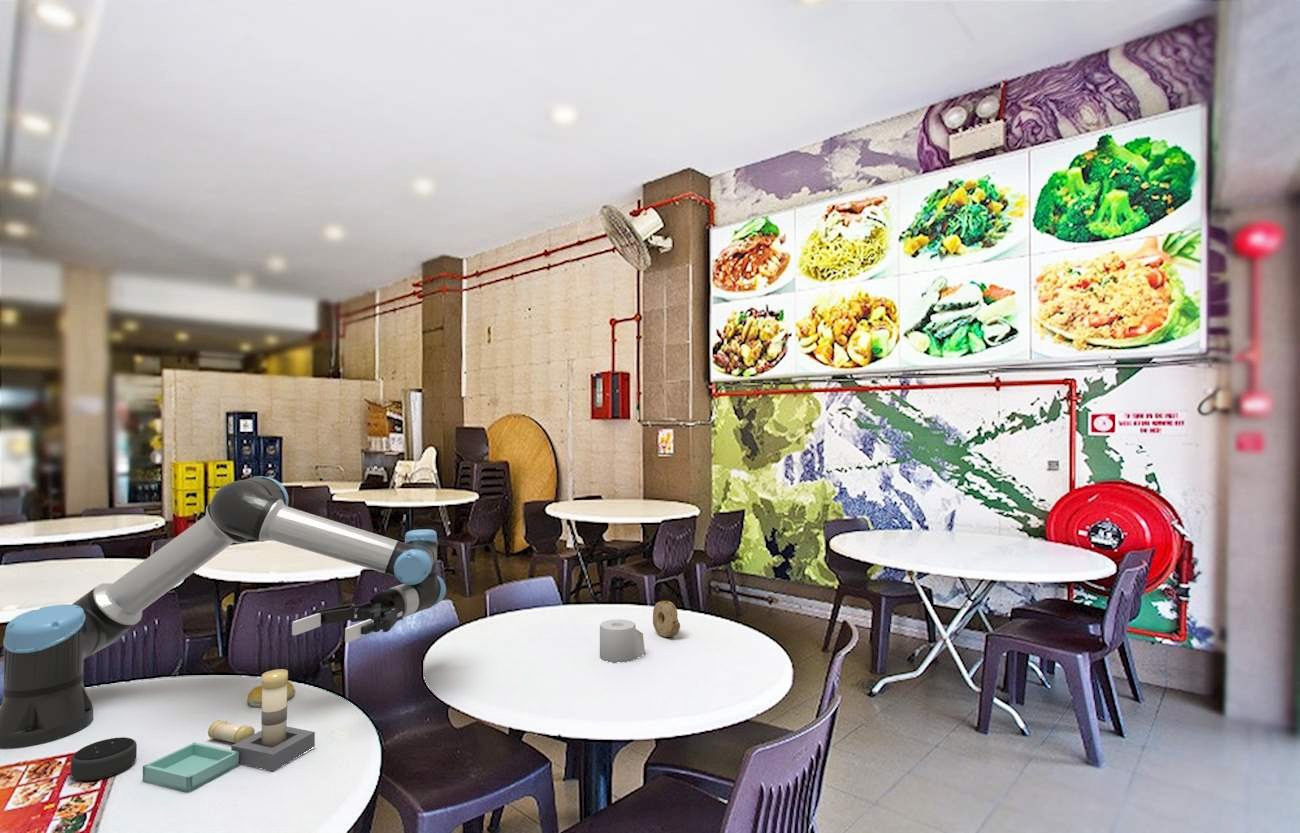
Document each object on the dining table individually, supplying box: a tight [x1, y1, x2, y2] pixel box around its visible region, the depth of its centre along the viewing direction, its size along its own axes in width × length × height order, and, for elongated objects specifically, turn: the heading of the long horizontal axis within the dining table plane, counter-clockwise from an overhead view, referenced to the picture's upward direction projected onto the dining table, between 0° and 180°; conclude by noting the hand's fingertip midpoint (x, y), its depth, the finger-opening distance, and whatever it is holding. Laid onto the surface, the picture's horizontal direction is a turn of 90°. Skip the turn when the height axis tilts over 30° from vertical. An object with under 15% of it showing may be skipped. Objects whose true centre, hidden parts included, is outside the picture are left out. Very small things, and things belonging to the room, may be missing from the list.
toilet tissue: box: [599, 618, 646, 664], centre depth 173 cm, size 9×13×9 cm
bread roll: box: [246, 680, 296, 708], centre depth 144 cm, size 8×9×4 cm
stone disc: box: [652, 600, 681, 638], centre depth 189 cm, size 10×4×10 cm, turn 35°
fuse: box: [207, 719, 256, 744], centre depth 125 cm, size 8×3×3 cm, turn 71°
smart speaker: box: [70, 736, 138, 782], centre depth 114 cm, size 9×9×4 cm
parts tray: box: [142, 741, 240, 794], centre depth 113 cm, size 11×9×2 cm
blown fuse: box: [260, 668, 289, 748], centre depth 120 cm, size 4×4×15 cm
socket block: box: [230, 725, 316, 772], centre depth 119 cm, size 10×9×3 cm
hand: (319, 632), depth 129 cm, fingers open, 13 cm apart
